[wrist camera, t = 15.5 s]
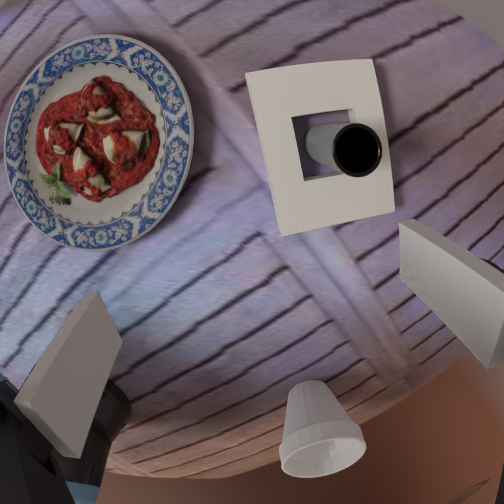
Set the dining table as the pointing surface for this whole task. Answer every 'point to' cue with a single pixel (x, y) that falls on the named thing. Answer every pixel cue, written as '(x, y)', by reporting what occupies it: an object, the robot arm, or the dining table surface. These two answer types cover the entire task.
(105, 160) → the ceramic plate
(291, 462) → the cup
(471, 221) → the dining table surface
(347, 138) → the grey cylinder
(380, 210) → the notched board
